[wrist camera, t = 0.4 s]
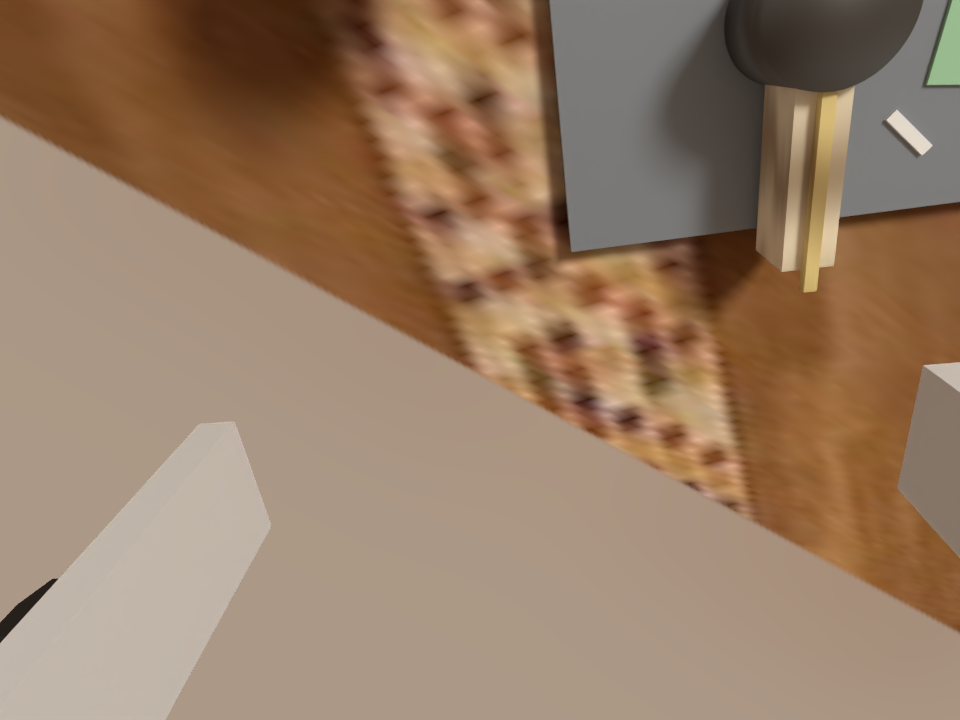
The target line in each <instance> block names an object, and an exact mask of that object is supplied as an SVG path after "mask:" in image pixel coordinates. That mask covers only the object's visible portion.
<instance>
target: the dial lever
mask: <svg viewBox="0 0 960 720" xmlns="http://www.w3.org/2000/svg"><path fill="white" fill-rule="evenodd" d="M922 5H923V0H729V3H728V6H727V10H726V15H725V24H724V36H725V42H726V47H727V50H728V53H729V55H730V58H731V60H732V62H733V63H734V65H735V66H736V68H737V69H738V70H739V71H740V72H741V73H742V74H743V75H745V76H746V77H747V78H749V79H751V80H752V81H754V82H757V83H759V84H762V85H765V95H764V112H763V130H762V148H761V166H760V184H759V201H758V219H757V237H756V251H757V252H758V253H760V254H761V255H762V256H763V257H764V258H766V259H767V260H768V261H769V262H770V263H772V264H773V265H774V266H775V267H776V268H778V269H779V270H780V271H781V272H785V271H794V270H801V276H800V287H799V289H800V290H801V291H803V292H812V291H817V283H818V273H819V267H827V266H834V259H835V250H836V242H837V233H838V225H839V216H840V208H841V199H842V191H843V182H844V174H845V165H846V157H847V149H848V140H849V132H850V123H851V115H852V106H853V98H854V89H855V85H857V84H859V83H861V82H863V81H865V80H867V79H868V78H870V77H871V76H873V75H874V74H876V73H877V72H878V71H880V70H881V69H882V68H883V67H884V66H885V65H887V64H888V63H889V62H890V61H891V60H892V59H893V58H894V56H895V55H896V54H897V53H898V52H899V51H900V49H901V48H902V47H903V45H904V44H905V42H906V41H907V39H908V38H909V36H910V34H911V32H912V31H913V29H914V27H915V24H916V22H917V20H918V18H919V15H920V12H921V9H922Z"/></svg>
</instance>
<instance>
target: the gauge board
mask: <svg viewBox="0 0 960 720" xmlns="http://www.w3.org/2000/svg"><path fill="white" fill-rule="evenodd" d="M548 2H549V13H550V25H551V36H552V48H553V59H554V71H555V82H556V94H557V105H558V116H559V128H560V139H561V151H562V162H563V174H564V185H565V197H566V208H567V220H568V231H569V243H570V249H571V252H577V251H584V250H592V249H600V248H608V247H615V246H623V245H631V244H638V243H646V242H654V241H662V240H669V239H677V238H685V237H692V236H700V235H708V234H715V233H723V232H731V231H739V230H746V229H754V228H757V219H758V201H759V184H760V166H761V148H762V130H763V112H764V95H765V85H762V84H759V83H757V82H754V81H752V80H751V79H749V78H747V77H746V76H745V75H743V74H742V73H741V72H740V71H739V70H738V69H737V68H736V66H735V65H734V63H733V62H732V60H731V58H730V55H729V53H728V50H727V47H726V42H725V36H724V24H725V15H726V10H727V6H728V3H729V0H548ZM954 202H960V0H923V5H922V9H921V12H920V15H919V18H918V20H917V22H916V24H915V27H914V29H913V31H912V32H911V34H910V36H909V38H908V39H907V41H906V42H905V44H904V45H903V47H902V48H901V49H900V51H899V52H898V53H897V54H896V55H895V56H894V58H893V59H892V60H891V61H890V62H889V63H888V64H887V65H885V66H884V67H883V68H882V69H881V70H880V71H878V72H877V73H876V74H874V75H873V76H871V77H870V78H868V79H867V80H865V81H863V82H861V83H859V84H857V85H855V89H854V98H853V106H852V115H851V123H850V132H849V140H848V149H847V157H846V165H845V174H844V182H843V191H842V199H841V208H840V216H839V217H847V216H854V215H862V214H870V213H877V212H885V211H893V210H900V209H908V208H916V207H924V206H931V205H939V204H947V203H954Z"/></svg>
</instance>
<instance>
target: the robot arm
mask: <svg viewBox="0 0 960 720" xmlns="http://www.w3.org/2000/svg"><path fill="white" fill-rule="evenodd" d="M897 489H898V490H899V491H900V492H901V493H902V494H903V496H904V497H905V498H906V499H907V500H908V501H909V502H910V503H911V504H912V506H913V507H914V508H915V509H916V510H917V511H918V512H919V513H920V514H921V516H922V517H923V518H924V519H925V520H926V521H927V522H928V523H929V525H930V526H931V527H932V528H933V529H934V530H935V531H936V532H937V533H938V535H939V536H940V537H941V538H942V539H943V540H944V541H945V542H946V543H947V545H948V546H949V547H950V548H951V549H952V550H953V551H954V552H955V553H956V555H957V556H958V557H959V558H960V362H959V363H946V364H934V365H923V369H922V374H921V379H920V383H919V388H918V393H917V398H916V402H915V407H914V412H913V416H912V421H911V426H910V431H909V435H908V440H907V445H906V450H905V454H904V459H903V464H902V468H901V473H900V478H899V483H898V487H897ZM270 528H271V523H270V520H269V517H268V514H267V512H266V509H265V506H264V503H263V500H262V498H261V495H260V492H259V489H258V486H257V483H256V481H255V478H254V475H253V472H252V469H251V466H250V464H249V461H248V458H247V455H246V453H245V450H244V447H243V444H242V441H241V439H240V436H239V433H238V430H237V427H236V424H235V422H234V421H231V422H218V423H206V424H199V425H198V426H197V427H196V428H195V429H194V430H193V431H192V433H191V434H190V435H189V436H188V437H187V438H186V439H185V440H184V441H183V443H182V444H181V445H180V446H179V447H178V448H177V449H176V450H175V451H174V452H173V453H172V455H171V456H170V457H169V458H168V459H167V460H166V461H165V462H164V463H163V464H162V466H161V467H160V468H159V469H158V470H157V471H156V472H155V473H154V474H153V475H152V477H151V478H150V479H149V480H148V481H147V482H146V483H145V484H144V485H143V486H142V488H141V489H140V490H139V491H138V492H137V493H136V494H135V495H134V496H133V497H132V499H131V500H130V501H129V502H128V503H127V504H126V505H125V506H124V507H123V509H122V510H121V511H120V512H119V513H118V514H117V515H116V516H115V517H114V518H113V520H112V521H111V522H110V523H109V524H108V525H107V526H106V527H105V528H104V529H103V531H102V532H101V533H100V534H99V535H98V536H97V537H96V538H95V539H94V540H93V542H92V543H91V544H90V545H89V546H88V547H87V548H86V549H85V550H84V551H83V553H82V554H81V555H80V556H79V557H78V558H77V559H76V560H75V562H74V563H73V564H72V565H71V566H70V567H69V568H68V569H67V570H66V571H65V572H64V573H63V575H62V576H61V577H60V578H59V579H52V580H50V581H49V582H48V583H46V584H45V585H44V586H42V587H41V588H39V589H38V590H37V591H35V592H34V593H33V594H31V595H30V596H29V597H27V598H26V599H24V600H23V601H22V602H20V603H19V604H18V605H17V606H16V607H15V608H14V609H13V610H12V611H11V612H10V613H9V614H8V615H7V616H6V617H5V618H4V619H3V620H2V621H1V622H0V720H166V718H167V717H168V715H169V713H170V711H171V709H172V707H173V706H174V704H175V702H176V700H177V698H178V696H179V695H180V693H181V691H182V689H183V687H184V685H185V684H186V682H187V680H188V678H189V676H190V674H191V673H192V671H193V669H194V667H195V665H196V663H197V662H198V660H199V658H200V656H201V654H202V653H203V651H204V649H205V647H206V645H207V643H208V642H209V640H210V638H211V636H212V634H213V632H214V630H215V629H216V627H217V625H218V623H219V621H220V619H221V618H222V615H223V614H224V612H225V610H226V609H227V607H228V605H229V603H230V601H231V599H232V597H233V596H234V594H235V592H236V590H237V588H238V587H239V584H240V583H241V581H242V579H243V577H244V576H245V574H246V572H247V570H248V568H249V567H250V565H251V563H252V561H253V559H254V557H255V555H256V554H257V552H258V550H259V548H260V546H261V545H262V543H263V541H264V539H265V537H266V535H267V534H268V532H269V530H270Z"/></svg>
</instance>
